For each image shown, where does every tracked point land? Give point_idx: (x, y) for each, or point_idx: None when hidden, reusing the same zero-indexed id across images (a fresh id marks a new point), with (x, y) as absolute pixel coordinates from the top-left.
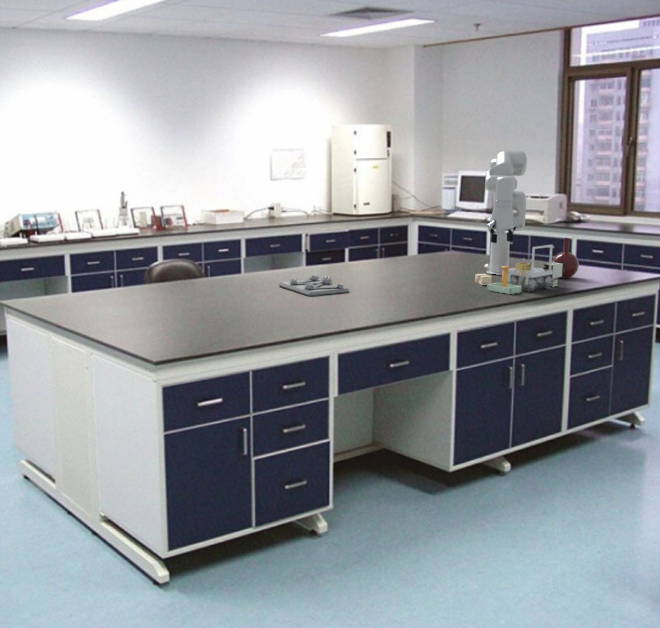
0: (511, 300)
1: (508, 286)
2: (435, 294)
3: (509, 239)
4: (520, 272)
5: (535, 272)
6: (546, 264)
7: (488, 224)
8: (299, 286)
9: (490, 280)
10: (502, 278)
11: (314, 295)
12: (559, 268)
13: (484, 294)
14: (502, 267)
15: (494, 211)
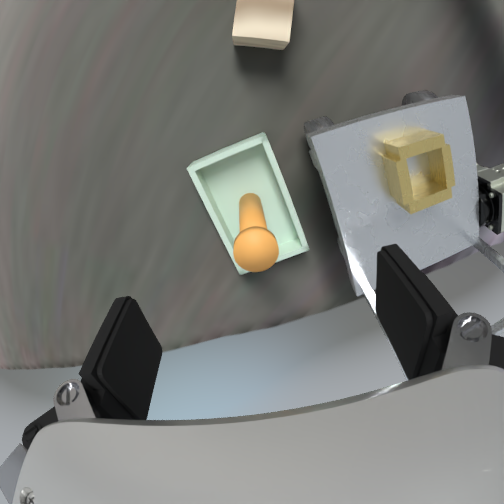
0: (196, 331)
1: (282, 193)
2: (13, 193)
3: (384, 300)
4: (342, 240)
5: None
6: (499, 207)
7: (6, 488)
8: None
9: (279, 44)
10: (239, 223)
11: None
12: None
13: (149, 230)
14: (233, 253)
15: None
